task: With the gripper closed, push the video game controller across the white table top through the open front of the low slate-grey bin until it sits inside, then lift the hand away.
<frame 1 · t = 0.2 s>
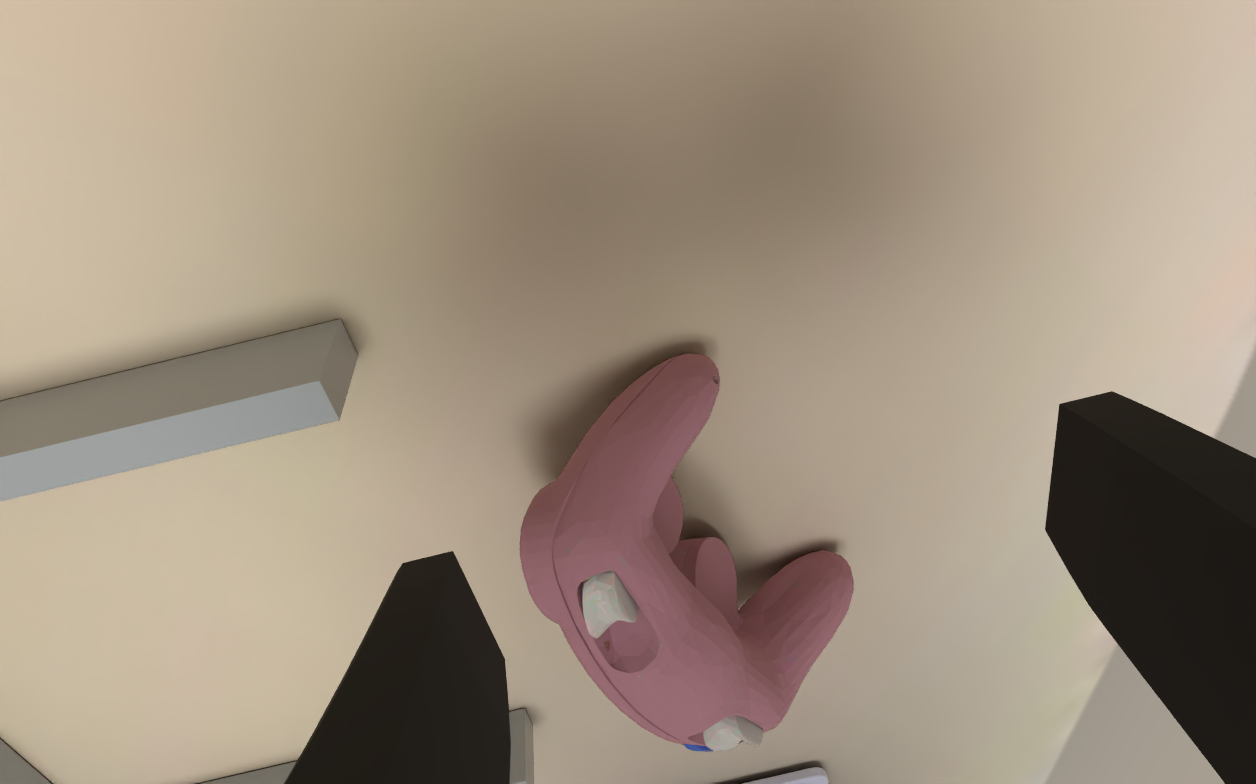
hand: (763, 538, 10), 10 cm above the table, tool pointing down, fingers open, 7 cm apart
grey bin: (195, 624, 23), on the table
video game controller: (684, 499, 23), on the table
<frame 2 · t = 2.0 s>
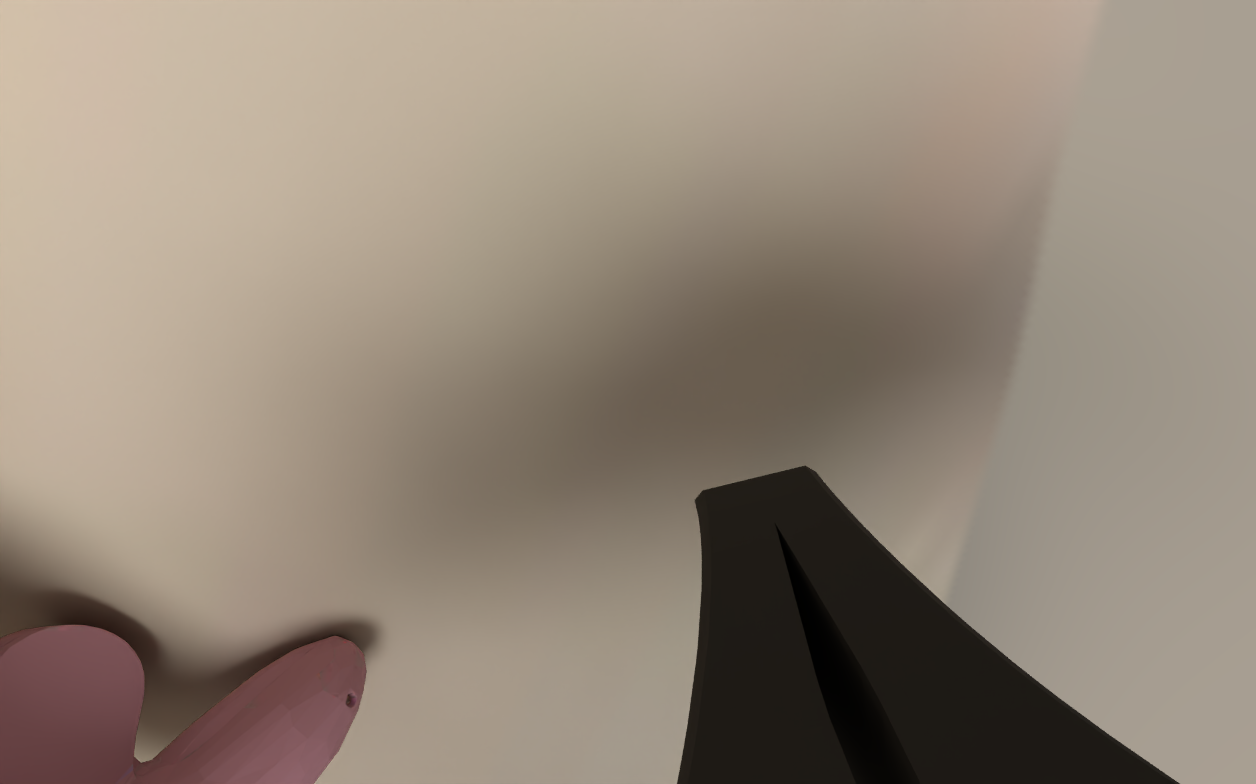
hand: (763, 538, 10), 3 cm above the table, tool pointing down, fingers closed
video game controller: (31, 553, 12), on the table
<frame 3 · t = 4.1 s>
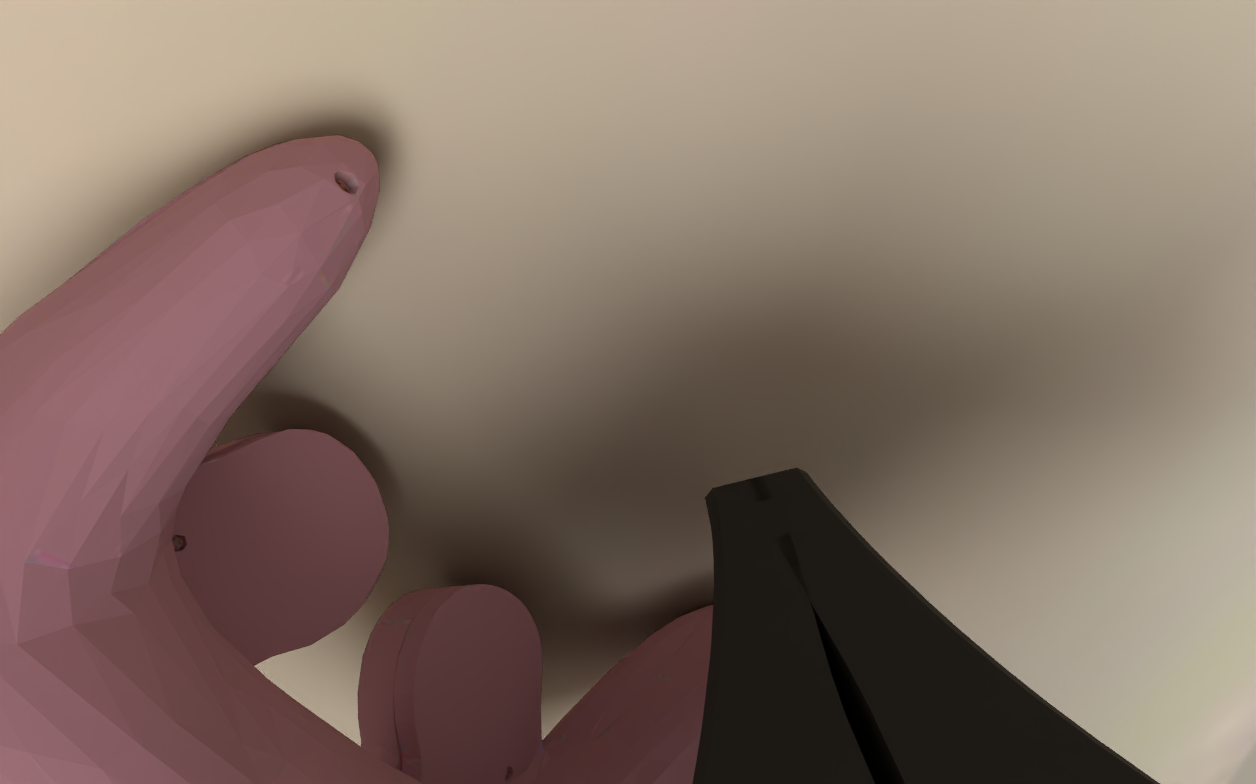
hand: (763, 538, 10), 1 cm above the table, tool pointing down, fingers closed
video game controller: (427, 505, 11), on the table, touching gripper
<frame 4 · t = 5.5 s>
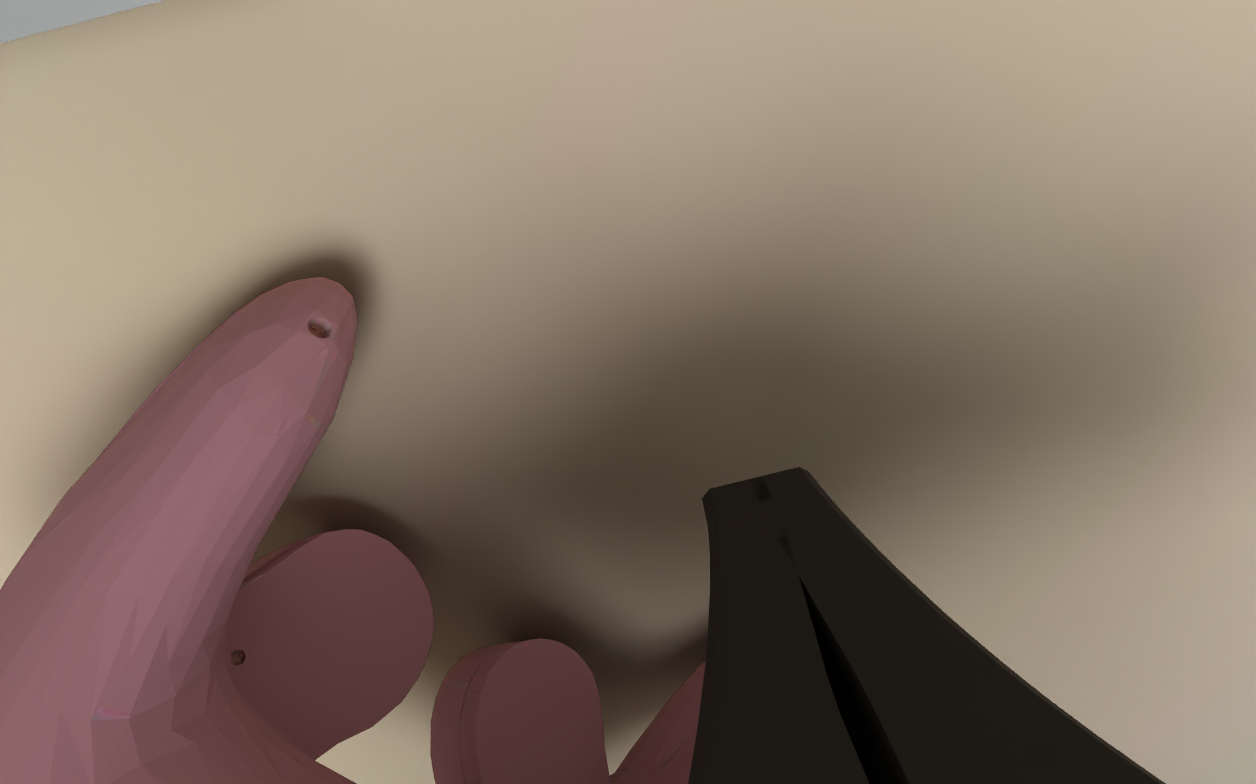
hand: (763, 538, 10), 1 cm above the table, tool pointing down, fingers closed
grey bin: (5, 645, 11), on the table
video game controller: (470, 571, 12), on the table, touching gripper
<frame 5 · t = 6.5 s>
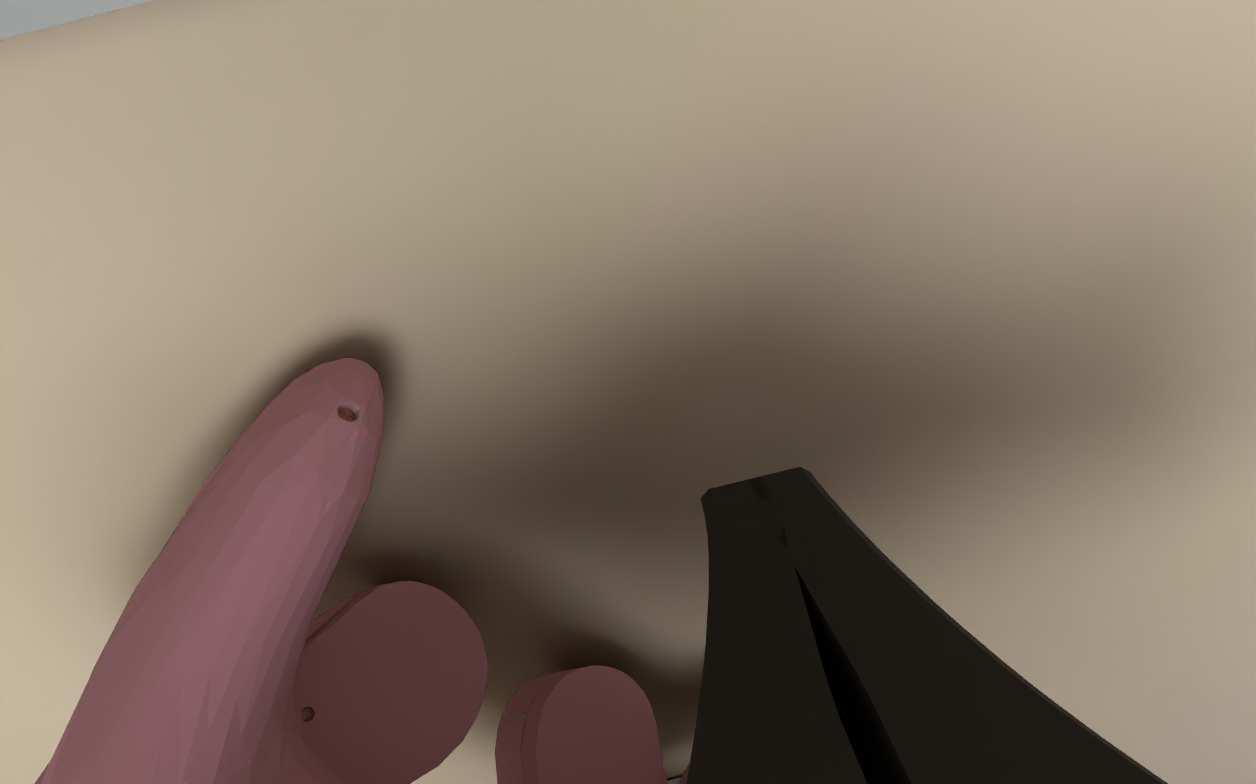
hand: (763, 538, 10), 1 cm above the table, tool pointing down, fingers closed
grey bin: (269, 579, 11), on the table
video game controller: (519, 606, 12), resting in grey bin, touching gripper
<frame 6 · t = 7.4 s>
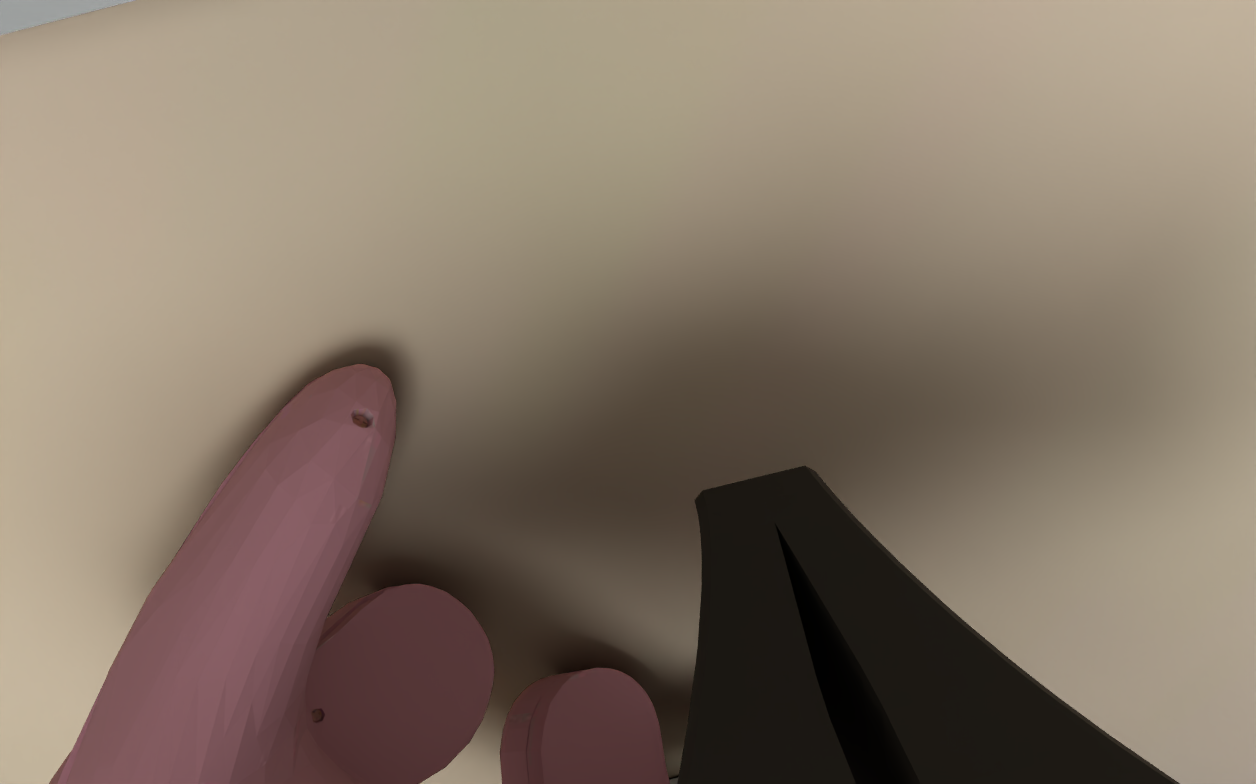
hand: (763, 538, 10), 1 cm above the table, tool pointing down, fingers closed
grey bin: (303, 570, 11), on the table
video game controller: (525, 608, 13), resting in grey bin
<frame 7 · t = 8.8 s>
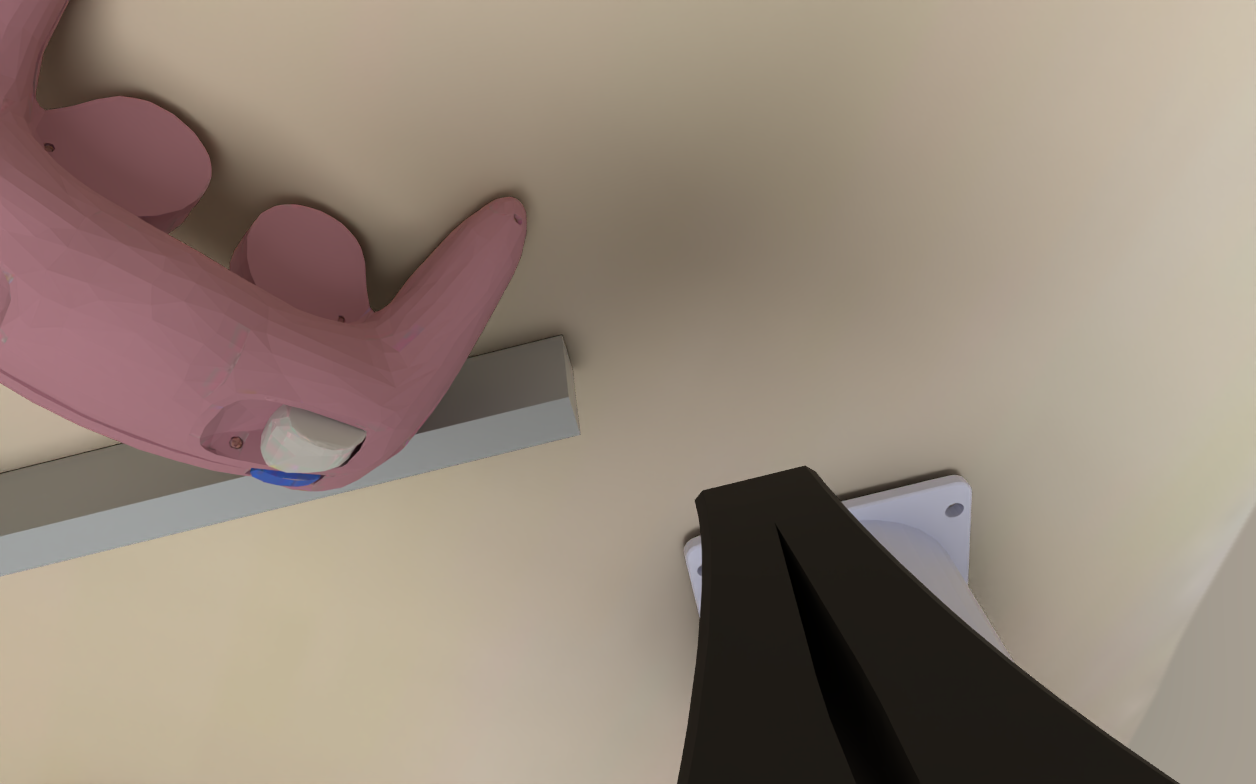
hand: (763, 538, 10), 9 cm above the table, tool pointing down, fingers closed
grey bin: (62, 111, 15), on the table
video game controller: (258, 168, 16), resting in grey bin
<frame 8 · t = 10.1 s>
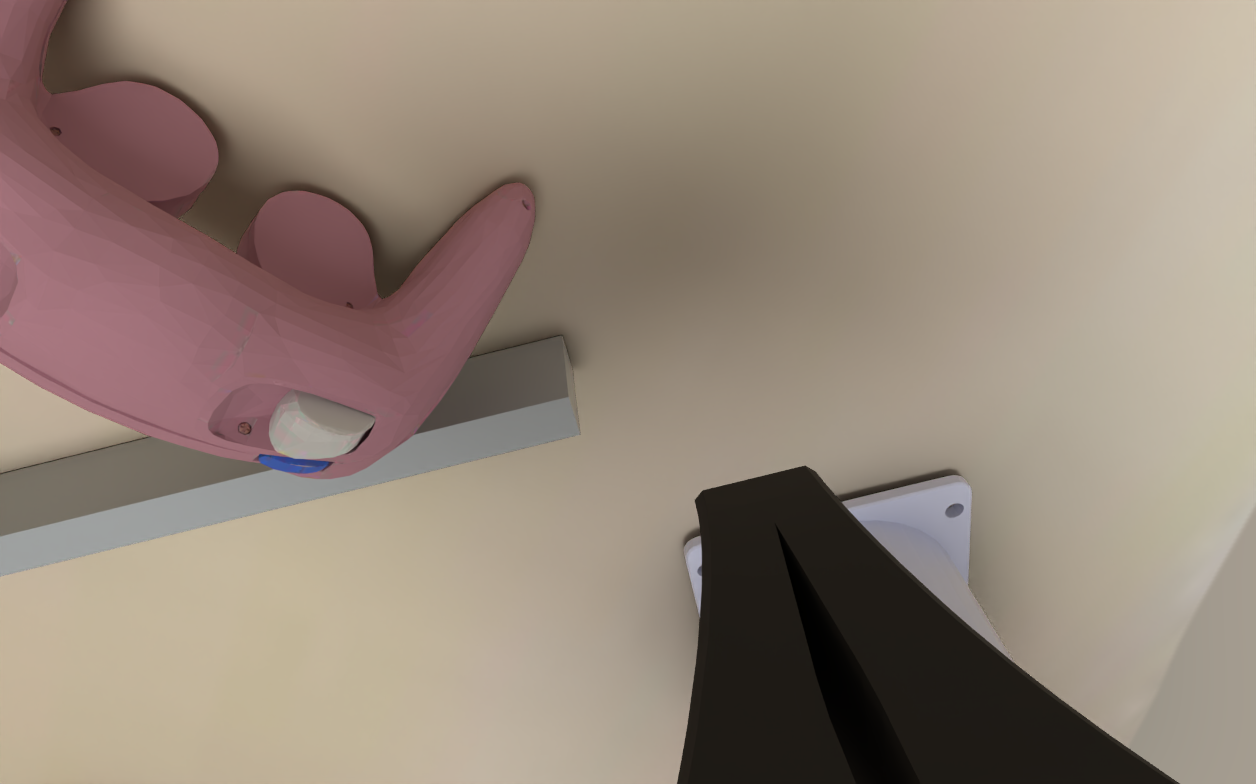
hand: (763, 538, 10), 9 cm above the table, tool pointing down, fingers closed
grey bin: (63, 112, 15), on the table
video game controller: (265, 155, 16), resting in grey bin
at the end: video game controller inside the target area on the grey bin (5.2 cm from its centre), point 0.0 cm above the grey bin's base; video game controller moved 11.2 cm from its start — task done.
